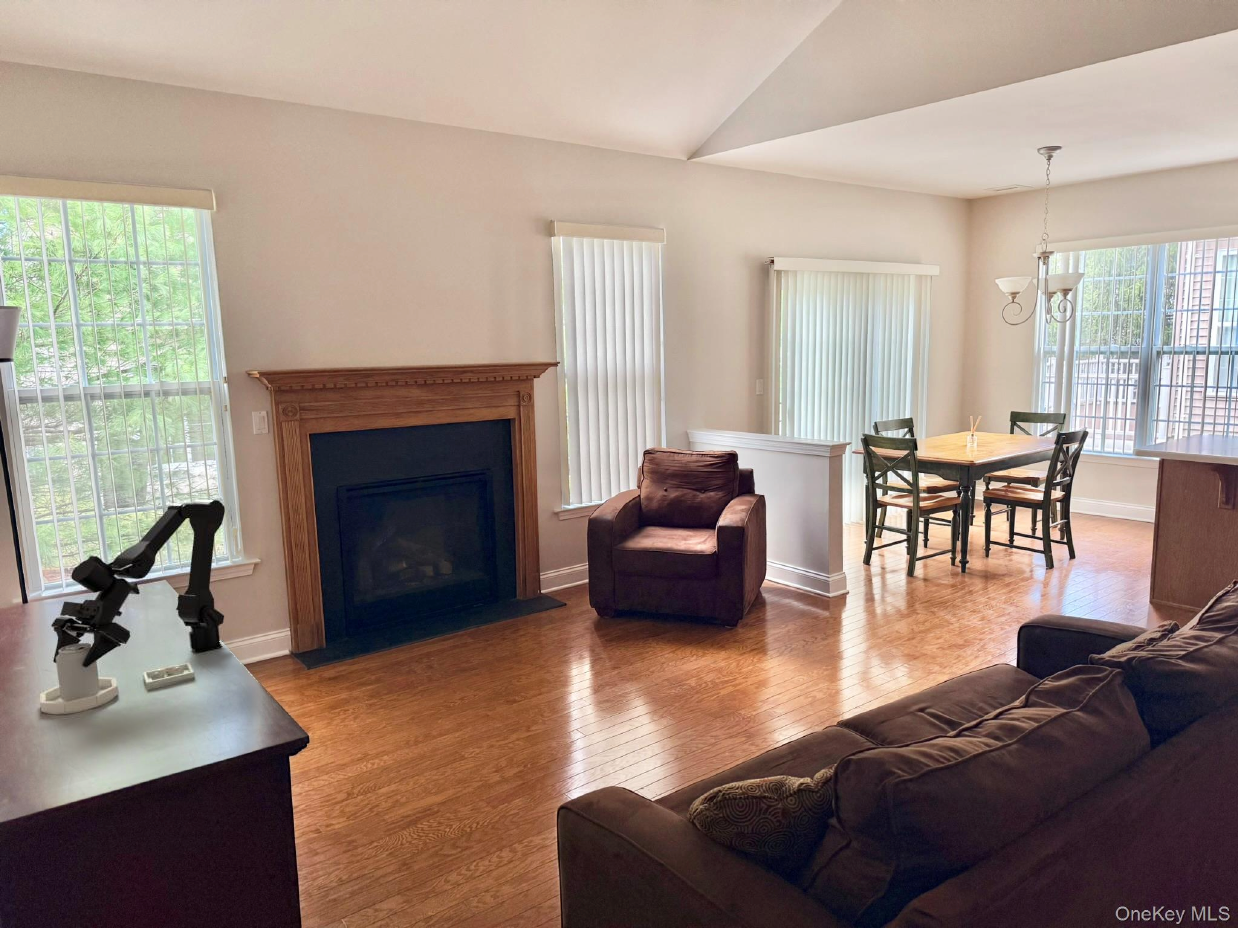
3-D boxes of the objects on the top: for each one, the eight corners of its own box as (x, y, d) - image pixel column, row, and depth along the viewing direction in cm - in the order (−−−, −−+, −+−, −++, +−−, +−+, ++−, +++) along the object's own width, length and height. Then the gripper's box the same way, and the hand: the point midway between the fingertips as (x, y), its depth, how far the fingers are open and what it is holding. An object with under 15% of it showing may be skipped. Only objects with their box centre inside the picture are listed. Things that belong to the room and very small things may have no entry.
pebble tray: (189, 669, 207) (189, 662, 206) (194, 679, 200) (193, 671, 200) (143, 679, 201) (142, 672, 201) (147, 689, 195) (146, 682, 194)
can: (93, 701, 187) (87, 650, 186) (55, 706, 185) (49, 654, 184) (105, 689, 194) (99, 639, 193) (68, 693, 193) (62, 643, 191)
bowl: (115, 682, 200) (114, 672, 200) (120, 702, 188) (118, 691, 188) (41, 698, 192) (40, 687, 191) (41, 720, 180) (40, 709, 179)
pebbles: (182, 670, 205) (181, 660, 204) (185, 676, 200) (184, 667, 200) (150, 677, 201) (148, 667, 200) (152, 684, 196) (151, 674, 196)
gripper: (53, 582, 193) (11, 645, 185) (112, 588, 187) (71, 652, 178) (90, 605, 202) (51, 666, 193) (147, 611, 195) (109, 674, 186)
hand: (69, 664), depth 187 cm, fingers open, 9 cm apart
